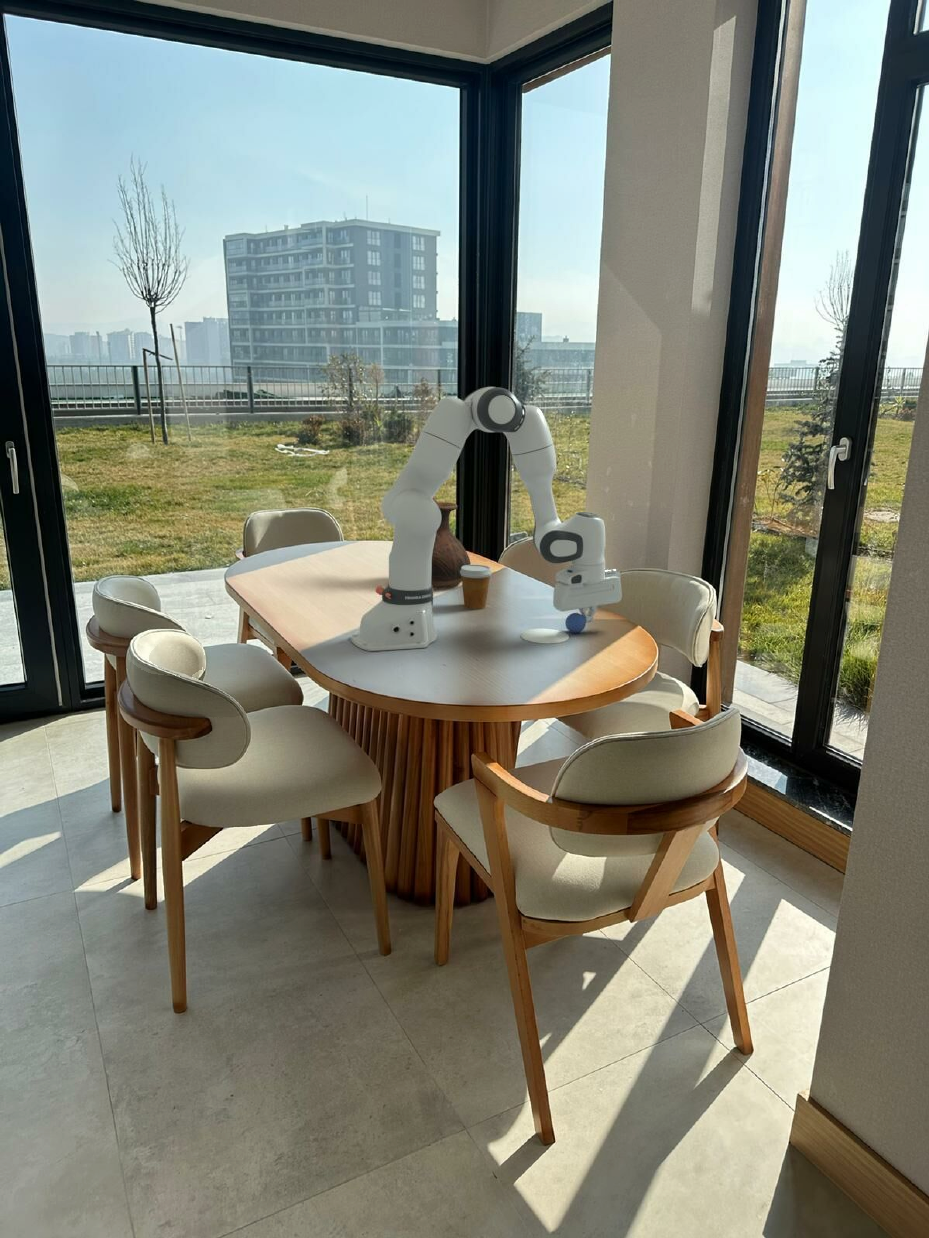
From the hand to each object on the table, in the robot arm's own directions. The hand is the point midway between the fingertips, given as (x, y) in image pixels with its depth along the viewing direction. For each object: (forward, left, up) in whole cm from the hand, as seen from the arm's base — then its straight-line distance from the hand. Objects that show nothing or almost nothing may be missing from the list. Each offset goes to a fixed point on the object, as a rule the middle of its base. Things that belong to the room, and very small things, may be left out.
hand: (587, 621), depth 238 cm
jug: (-16, +64, -3) cm, 66 cm away
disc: (-13, 0, -3) cm, 14 cm away
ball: (-4, 0, 0) cm, 4 cm away
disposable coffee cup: (-17, +34, -3) cm, 38 cm away
